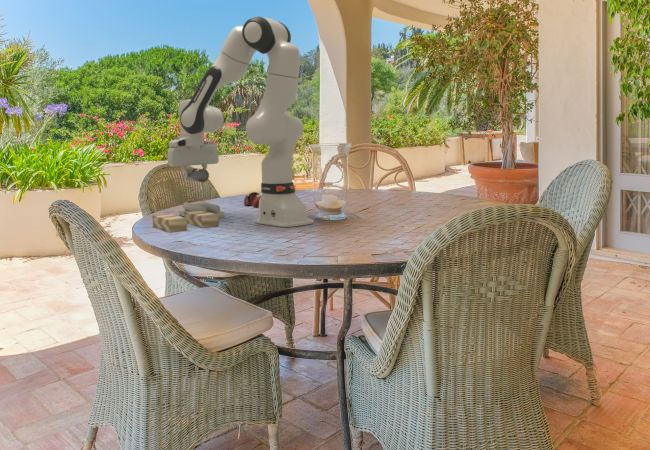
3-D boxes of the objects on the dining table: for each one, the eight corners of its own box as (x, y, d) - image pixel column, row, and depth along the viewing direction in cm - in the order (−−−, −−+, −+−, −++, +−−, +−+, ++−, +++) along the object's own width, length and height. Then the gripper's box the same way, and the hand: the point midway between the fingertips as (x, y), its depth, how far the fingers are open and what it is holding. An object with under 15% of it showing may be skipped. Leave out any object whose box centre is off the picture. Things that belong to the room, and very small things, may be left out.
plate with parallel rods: (224, 216, 222) (223, 204, 221) (196, 220, 215) (195, 207, 214) (206, 212, 234) (206, 200, 234) (179, 215, 227) (178, 203, 226)
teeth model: (256, 193, 243) (242, 192, 252) (256, 208, 244) (242, 206, 253) (272, 193, 248) (258, 191, 257) (272, 207, 249) (258, 205, 258)
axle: (209, 181, 219) (208, 168, 218) (197, 182, 216) (196, 169, 215) (196, 179, 228) (195, 167, 227) (184, 181, 225) (183, 168, 224)
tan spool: (218, 225, 202) (218, 214, 201) (170, 232, 191) (169, 220, 191) (199, 220, 215) (198, 210, 214) (153, 226, 204) (152, 215, 203)
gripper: (213, 140, 229) (215, 174, 232) (164, 142, 217) (167, 178, 219) (220, 140, 224) (222, 175, 227) (171, 142, 212) (173, 179, 214)
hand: (195, 176), depth 223 cm, fingers closed on axle, 5 cm apart
